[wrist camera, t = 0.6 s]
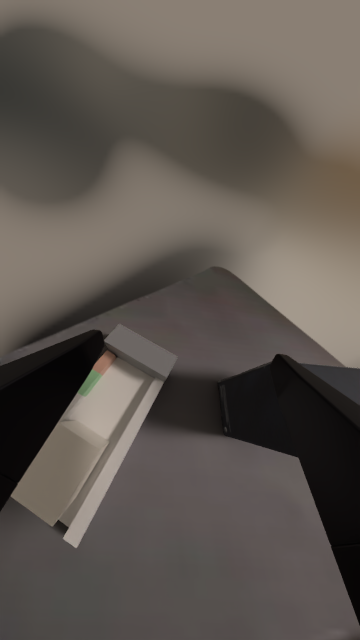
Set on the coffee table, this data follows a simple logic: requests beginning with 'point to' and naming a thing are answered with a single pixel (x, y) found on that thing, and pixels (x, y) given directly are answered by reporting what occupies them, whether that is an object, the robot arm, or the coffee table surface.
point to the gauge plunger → (59, 470)
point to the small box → (271, 404)
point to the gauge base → (114, 413)
